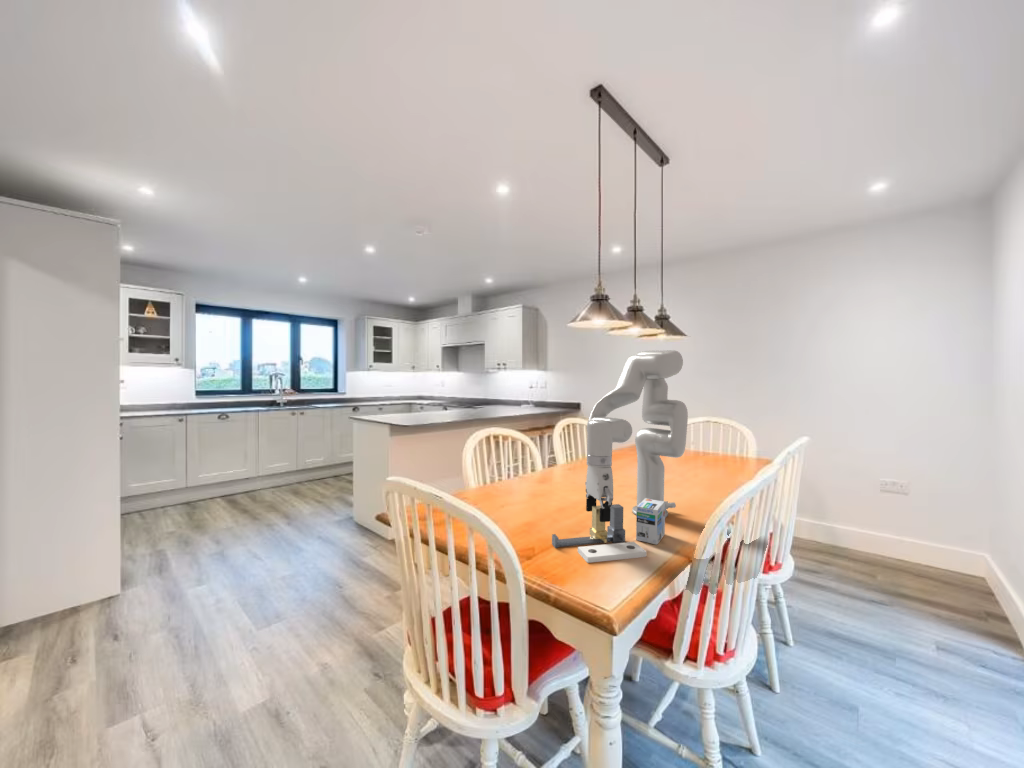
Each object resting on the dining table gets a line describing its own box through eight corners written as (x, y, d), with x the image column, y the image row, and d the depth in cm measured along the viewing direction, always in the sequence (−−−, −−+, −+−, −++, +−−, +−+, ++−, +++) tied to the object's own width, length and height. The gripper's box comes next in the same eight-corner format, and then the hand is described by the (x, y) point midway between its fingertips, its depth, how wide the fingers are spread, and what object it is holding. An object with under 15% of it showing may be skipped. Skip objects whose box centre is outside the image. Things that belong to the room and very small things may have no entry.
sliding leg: (601, 533, 133) (601, 504, 133) (611, 542, 126) (612, 512, 126) (589, 534, 132) (590, 505, 132) (599, 543, 125) (599, 513, 125)
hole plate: (633, 546, 127) (633, 541, 127) (646, 556, 121) (646, 551, 121) (577, 552, 123) (577, 546, 123) (587, 562, 116) (587, 557, 116)
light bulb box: (657, 545, 129) (658, 510, 128) (635, 540, 132) (635, 506, 132) (665, 534, 138) (666, 501, 137) (644, 529, 141) (644, 497, 141)
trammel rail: (618, 537, 135) (619, 503, 134) (629, 546, 128) (630, 510, 127) (551, 543, 129) (551, 508, 129) (559, 553, 122) (559, 516, 122)
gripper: (624, 466, 122) (622, 525, 123) (598, 454, 139) (597, 506, 139) (600, 466, 120) (598, 526, 121) (576, 455, 137) (575, 508, 138)
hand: (597, 516), depth 130 cm, fingers open, 9 cm apart
